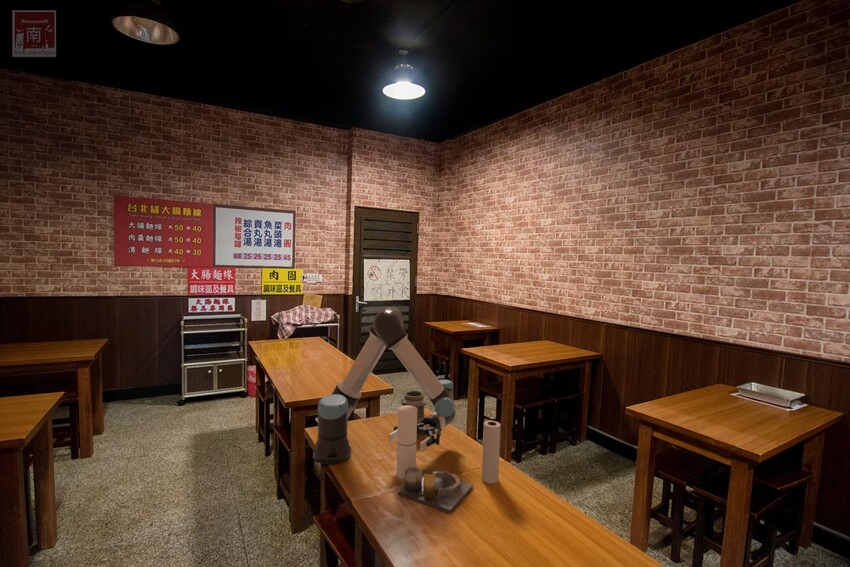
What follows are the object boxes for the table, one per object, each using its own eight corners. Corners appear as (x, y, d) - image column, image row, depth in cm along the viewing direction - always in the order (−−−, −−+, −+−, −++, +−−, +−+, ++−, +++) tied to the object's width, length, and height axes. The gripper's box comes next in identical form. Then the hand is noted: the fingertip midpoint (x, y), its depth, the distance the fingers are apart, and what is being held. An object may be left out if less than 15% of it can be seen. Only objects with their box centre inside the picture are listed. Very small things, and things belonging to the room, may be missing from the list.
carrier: (396, 494, 143) (397, 470, 142) (425, 470, 160) (425, 449, 159) (450, 513, 133) (450, 488, 132) (474, 486, 149) (475, 463, 149)
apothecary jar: (396, 433, 193) (397, 395, 192) (405, 424, 204) (406, 388, 203) (421, 437, 189) (422, 398, 188) (429, 427, 201) (430, 390, 200)
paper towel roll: (498, 485, 150) (500, 427, 149) (481, 483, 151) (483, 425, 150) (498, 475, 157) (500, 419, 156) (482, 473, 158) (484, 418, 157)
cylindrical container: (392, 476, 155) (394, 409, 153) (402, 467, 161) (404, 404, 160) (409, 481, 151) (411, 413, 150) (418, 472, 158) (420, 407, 156)
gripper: (459, 439, 166) (434, 461, 148) (406, 426, 179) (377, 444, 160) (460, 421, 166) (435, 440, 148) (407, 408, 178) (377, 425, 160)
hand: (405, 442), depth 154 cm, fingers open, 13 cm apart
